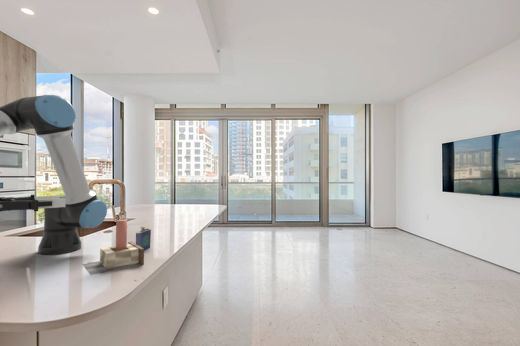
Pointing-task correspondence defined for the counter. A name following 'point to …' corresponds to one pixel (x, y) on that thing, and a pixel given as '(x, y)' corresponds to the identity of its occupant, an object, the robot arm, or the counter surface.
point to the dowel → (121, 235)
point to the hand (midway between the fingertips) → (62, 200)
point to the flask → (143, 238)
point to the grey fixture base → (99, 268)
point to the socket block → (118, 256)
